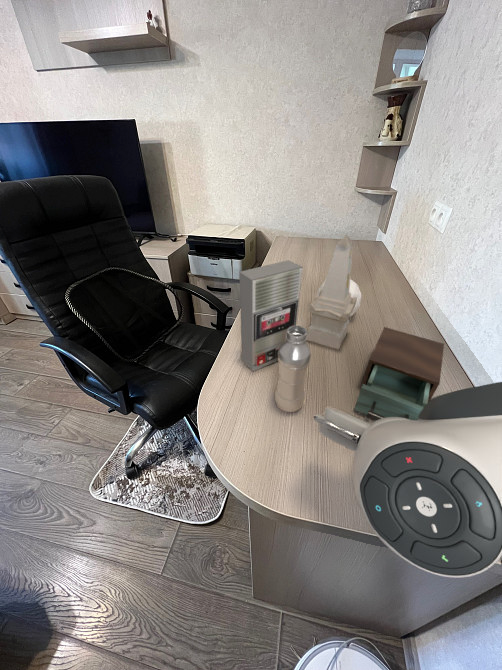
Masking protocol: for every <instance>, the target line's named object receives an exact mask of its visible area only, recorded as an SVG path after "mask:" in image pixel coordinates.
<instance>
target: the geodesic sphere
mask: <svg viewBox="0 0 502 670" xmlns="http://www.w3.org/2000/svg"><path fill="white" fill-rule="evenodd" d="M324 283H325V280H324V281H323V282H322V283H321V284H320V286H319V287H318V289H316V298H317V297H318V296H319V293H320V291H321V290H323V287H324ZM349 292H350V293H351V297H352V298H354V297H357V301H356V305H355V307H354V309H353V311H352V313H351V315H350V317H352V316H353V315H354V314H355V313H356V312H357V310H358V309H359V308H360V307H361V301H362V292H361V290H360V287H359V285H358V283H356V282H355V280H352V279H351V278H350V288H349Z"/></svg>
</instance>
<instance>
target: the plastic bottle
mask: <svg viewBox="0 0 502 670" xmlns="http://www.w3.org/2000/svg"><path fill="white" fill-rule="evenodd" d="M307 332H308V329H307V328H306V327H304V326H302V325H296V326H291V327H289V328H288V330H287V335H286V341H285V342H284V343H283V344H282V345H281V346H280V348H279V350H278V361H277V362H278V381H277V386H276V389H275V393H274V400H275V405H276V406H277V408H279V409H280V410H281V411H283V412H286V413H294V412H296V411H299V410H300V409H301V408H302V407H303V405H304V403H305V401H306V400H305V399H306V391H305V381H306V376H307V371H308V367H309V365H310V362H311V359H312V351H311V348H310V346H309V344H308V343H307V341H308V340H307Z"/></svg>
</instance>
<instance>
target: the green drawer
mask: <svg viewBox="0 0 502 670" xmlns="http://www.w3.org/2000/svg"><path fill="white" fill-rule="evenodd" d="M430 384H431V383H428V382H426V381H423V380H420V379H417V378H414V377H411V376H408V375H405V374H402V373H399V372H396V371H393V370H390V369H387V368H385V367H382V366H379V365H376V364H375V366H374V368H373V371H372V373H371V375H370V378H369V380H368V383H367V385H365V384H363V385H362V384H361V385H362V387H361V386H360V390H359V393H358V397H357V400H356V402H355V405H354V408H353V409H354V411H357V412H358V413H361V414H364V415H366V417H367V419H370V420H372V421H374V422H375V421H377V420H379V419H382V418H386V417H401V418H406V419H409V420H419V418H418V416H419V414H420V412H421V411H422V409H423V408H424V407H425V406H426V404H427V403H428V397H429V390H430Z"/></svg>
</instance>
